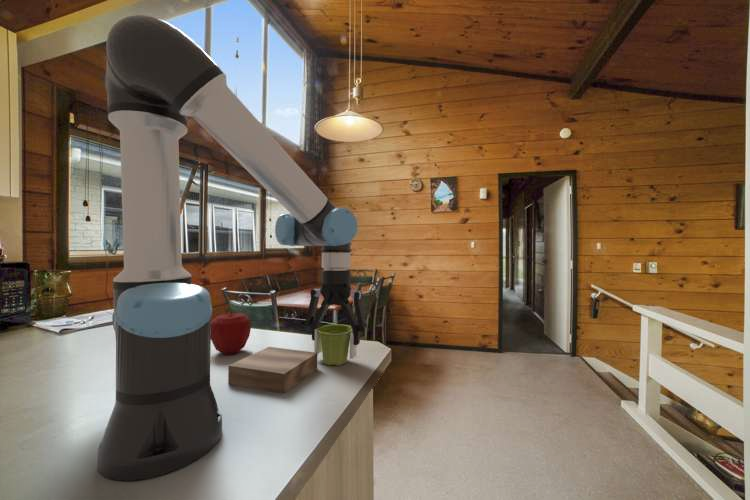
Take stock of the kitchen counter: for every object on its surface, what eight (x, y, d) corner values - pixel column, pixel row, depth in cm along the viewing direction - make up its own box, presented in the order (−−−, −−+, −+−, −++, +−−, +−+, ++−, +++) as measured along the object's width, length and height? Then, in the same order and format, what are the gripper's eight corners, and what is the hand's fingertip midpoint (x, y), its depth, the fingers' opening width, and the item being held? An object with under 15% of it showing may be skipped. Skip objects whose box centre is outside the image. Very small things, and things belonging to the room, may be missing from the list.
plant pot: (360, 361, 82) (360, 328, 82) (332, 371, 75) (332, 335, 75) (337, 353, 89) (337, 322, 89) (309, 361, 82) (309, 328, 82)
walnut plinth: (284, 393, 64) (284, 373, 64) (228, 384, 68) (228, 365, 68) (317, 368, 77) (317, 352, 77) (268, 362, 81) (268, 346, 81)
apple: (238, 344, 96) (238, 306, 96) (258, 351, 90) (259, 310, 90) (201, 353, 87) (201, 311, 87) (221, 362, 81) (221, 316, 81)
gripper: (380, 269, 82) (379, 355, 82) (306, 267, 89) (305, 346, 89) (371, 271, 75) (370, 364, 75) (291, 268, 82) (290, 354, 82)
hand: (335, 354), depth 82 cm, fingers closed on plant pot, 9 cm apart
